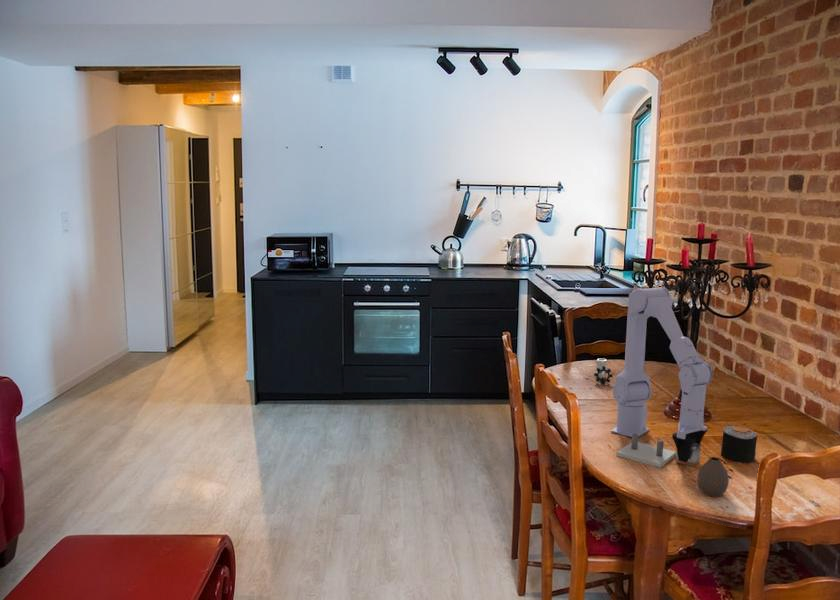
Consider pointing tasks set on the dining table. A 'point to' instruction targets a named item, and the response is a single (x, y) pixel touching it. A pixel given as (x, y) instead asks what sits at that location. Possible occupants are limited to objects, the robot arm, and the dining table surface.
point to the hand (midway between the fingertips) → (687, 457)
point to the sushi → (739, 444)
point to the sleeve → (691, 456)
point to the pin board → (646, 452)
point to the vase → (713, 477)
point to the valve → (602, 371)
